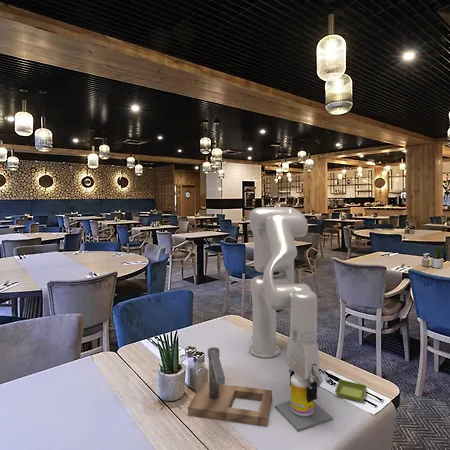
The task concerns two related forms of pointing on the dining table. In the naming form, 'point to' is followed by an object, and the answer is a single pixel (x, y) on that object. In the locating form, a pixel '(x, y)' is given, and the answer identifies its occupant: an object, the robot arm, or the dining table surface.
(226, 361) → the dining table surface
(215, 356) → the retention bar
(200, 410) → the collar stand
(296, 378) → the supplement bottle
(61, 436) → the dining table surface
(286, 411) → the coaster pad
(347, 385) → the olive square tray
